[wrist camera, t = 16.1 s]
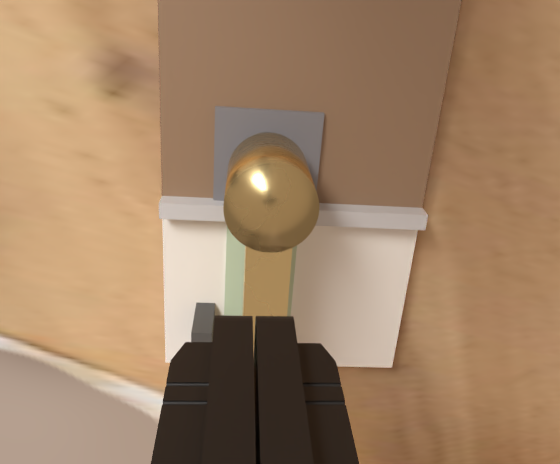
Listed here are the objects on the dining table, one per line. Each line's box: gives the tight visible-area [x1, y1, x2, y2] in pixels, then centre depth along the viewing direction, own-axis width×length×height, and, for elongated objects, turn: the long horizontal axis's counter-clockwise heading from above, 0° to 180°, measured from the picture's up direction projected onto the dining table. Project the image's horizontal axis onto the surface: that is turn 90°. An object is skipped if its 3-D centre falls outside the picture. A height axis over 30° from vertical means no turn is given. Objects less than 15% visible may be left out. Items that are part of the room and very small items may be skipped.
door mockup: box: [158, 0, 462, 368], centre depth 25 cm, size 24×13×4 cm, turn 176°
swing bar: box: [223, 133, 319, 357], centre depth 24 cm, size 15×4×5 cm, turn 176°
